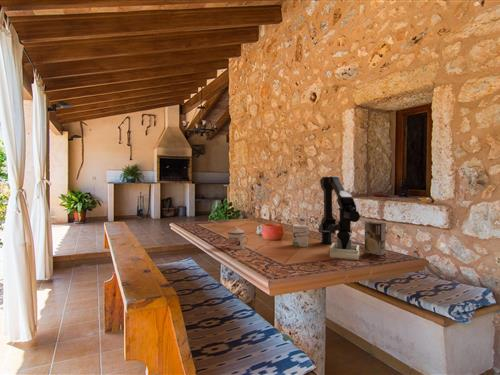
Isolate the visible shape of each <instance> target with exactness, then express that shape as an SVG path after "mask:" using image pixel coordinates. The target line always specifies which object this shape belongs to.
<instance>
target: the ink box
mask: <svg viewBox="0 0 500 375" xmlns="http://www.w3.org/2000/svg"><path fill="white" fill-rule="evenodd" d="M308 245H309V225H308V224H296V223H295V224H293V225H292V247H304V248H307V247H309V246H308Z"/></svg>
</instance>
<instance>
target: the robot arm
mask: <svg viewBox="0 0 500 375" xmlns="http://www.w3.org/2000/svg"><path fill="white" fill-rule="evenodd" d="M319 184H320V189H321V190H322V191H323V216H322V219H321V221H320V224H319V226H318V229H317V230H318V233H320V234H321V241H320V242H319V243H320V244H326V245H328V244H329V245H332V244H333V243H334V242H333V241H332V236H333V235H332V234H335V233H336V231H337V233H336V238H337V239H338V238H339V239H340V240H341V244H342V248H343V249H346V247H347V244H348V242H349V239H350V238H352V237H351V236H352V234H353V229H352V228H351V226H352V225H351V224H352V222H353V223H357V222H358V221H359V220H360V218H361V215H360V212H359V211H357V205H356V202H355V200H354V198H353V196H352V195H351V194H350V193H349V192H347V191H346V190H345V188H344V187H343V185H342V183H341V180H340V177H339V176H336V175H331V176H322V177H321V178H320V179H319ZM333 191H334V192H335V194H336V196H337V198H336V202H337V204H338V211H339V221H338V223H337V221H336V218H334V217H333Z"/></svg>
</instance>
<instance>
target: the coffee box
mask: <svg viewBox="0 0 500 375" xmlns="http://www.w3.org/2000/svg"><path fill="white" fill-rule="evenodd" d="M386 225H387V224H386V222H377V221H365V222H364V254H370V253H371V254H372V255H378V256H383V255H385V254H386V233H387V232H386V230H387V229H386V227H387V226H386Z"/></svg>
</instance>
